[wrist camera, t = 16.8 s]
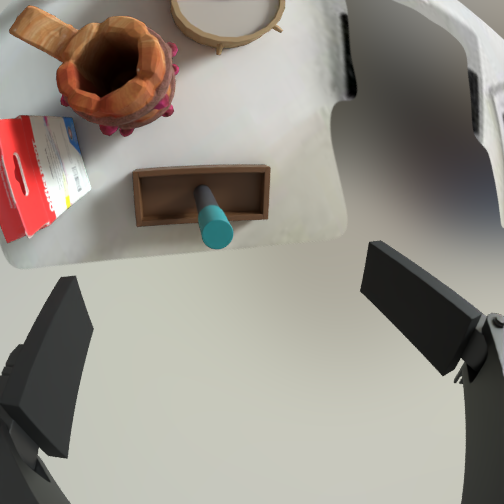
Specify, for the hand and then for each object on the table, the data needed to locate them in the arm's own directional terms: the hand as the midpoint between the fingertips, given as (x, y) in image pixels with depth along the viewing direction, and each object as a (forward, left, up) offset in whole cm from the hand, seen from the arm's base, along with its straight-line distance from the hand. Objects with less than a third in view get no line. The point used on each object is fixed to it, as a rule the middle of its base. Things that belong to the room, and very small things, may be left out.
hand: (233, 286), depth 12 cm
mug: (-12, +9, -20) cm, 25 cm away
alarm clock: (-6, +22, -20) cm, 30 cm away
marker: (0, 0, -19) cm, 19 cm away
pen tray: (0, 0, -20) cm, 20 cm away
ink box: (-15, 0, -20) cm, 25 cm away
